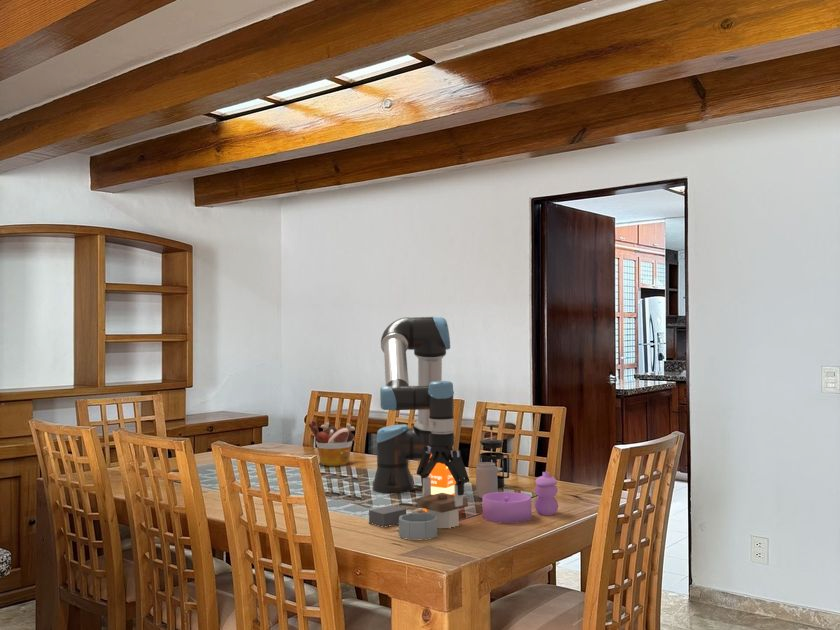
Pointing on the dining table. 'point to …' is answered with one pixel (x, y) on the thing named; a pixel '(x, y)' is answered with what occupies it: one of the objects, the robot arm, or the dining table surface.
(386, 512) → the grey rectangular block
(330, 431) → the bucket of meat
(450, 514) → the bowl
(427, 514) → the grey bowl
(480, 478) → the can
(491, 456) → the french press
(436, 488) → the orange juice
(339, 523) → the dining table surface
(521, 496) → the container set
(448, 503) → the lid
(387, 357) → the robot arm
